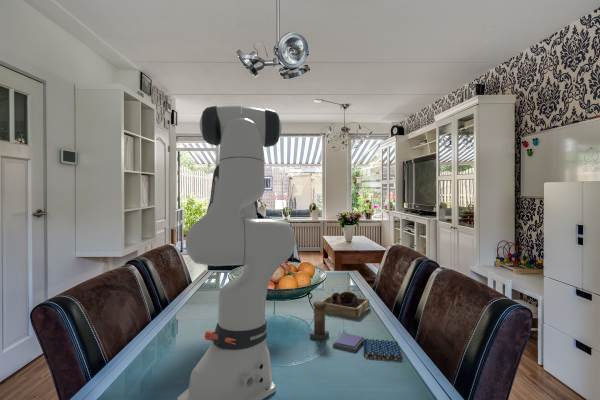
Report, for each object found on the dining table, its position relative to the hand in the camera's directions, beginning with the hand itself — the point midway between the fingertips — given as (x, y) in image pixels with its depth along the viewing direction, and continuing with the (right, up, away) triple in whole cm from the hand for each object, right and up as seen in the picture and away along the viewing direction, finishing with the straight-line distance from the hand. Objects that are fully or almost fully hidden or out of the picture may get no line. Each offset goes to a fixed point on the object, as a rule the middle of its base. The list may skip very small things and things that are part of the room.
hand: (277, 256), depth 118 cm
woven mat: (+32, -25, -20) cm, 45 cm away
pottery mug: (+26, -24, +17) cm, 39 cm away
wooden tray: (+26, -24, +17) cm, 39 cm away
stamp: (+14, -24, -10) cm, 30 cm away
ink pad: (+23, -24, -15) cm, 36 cm away
